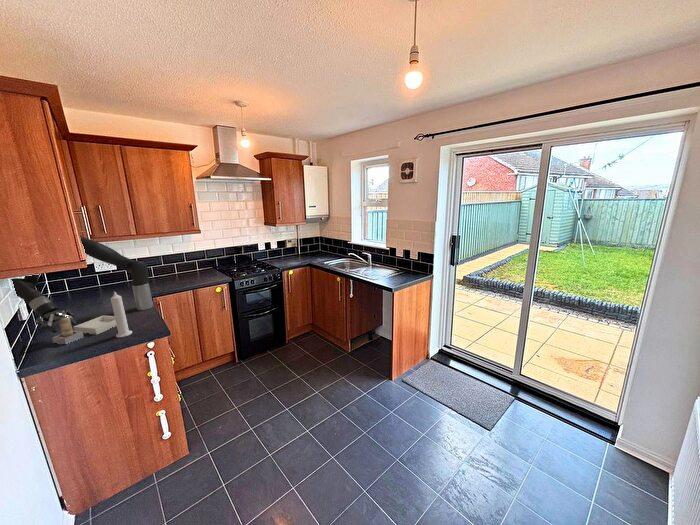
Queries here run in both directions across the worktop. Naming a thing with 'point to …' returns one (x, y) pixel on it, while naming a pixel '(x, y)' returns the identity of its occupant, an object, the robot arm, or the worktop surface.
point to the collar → (68, 338)
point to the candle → (120, 316)
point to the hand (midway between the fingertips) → (65, 328)
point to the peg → (65, 327)
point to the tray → (97, 325)
